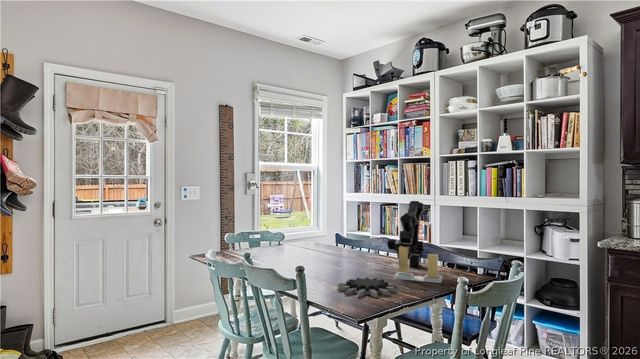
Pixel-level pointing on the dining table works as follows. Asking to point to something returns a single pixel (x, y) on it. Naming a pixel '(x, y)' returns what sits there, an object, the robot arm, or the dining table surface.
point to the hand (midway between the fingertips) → (403, 258)
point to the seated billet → (433, 266)
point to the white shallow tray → (416, 277)
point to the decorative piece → (367, 287)
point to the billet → (403, 259)
